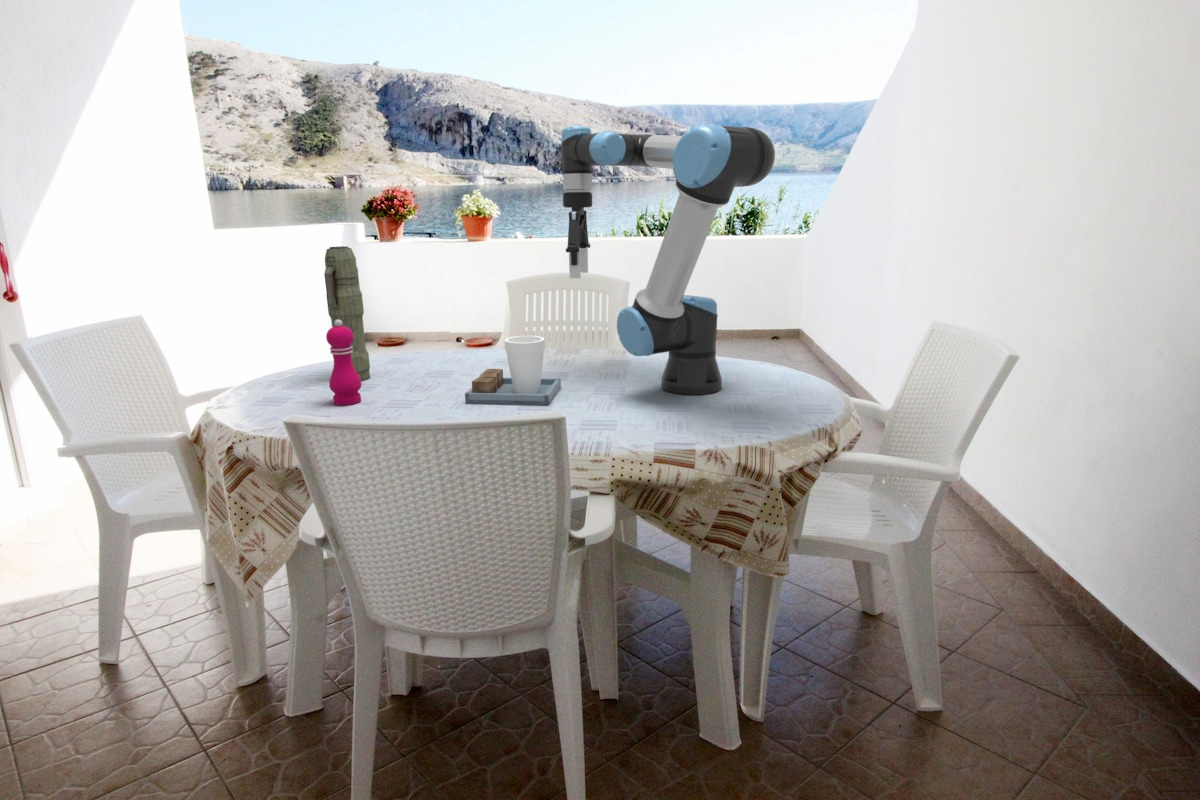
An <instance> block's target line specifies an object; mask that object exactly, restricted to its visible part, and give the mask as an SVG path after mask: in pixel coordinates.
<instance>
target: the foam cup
mask: <svg viewBox="0 0 1200 800" xmlns="http://www.w3.org/2000/svg"><path fill="white" fill-rule="evenodd" d="M545 342H546V341H545V338H544V337H543V336H538V335H517V336H511V337H506V338H505V339H504V347H505V348H504V349H505V350H504V351H505V352H506V357H507V361H508V368H509V373H510V378H511V379H512V385H513V390H514V393H515V394H537V393H539V392H540V385H541V378H542V374H543V373H542V372H543V364H544V351H545V350H546V349H545V348H546V347H545V344H546V343H545Z"/></svg>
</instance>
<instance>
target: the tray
mask: <svg viewBox="0 0 1200 800" xmlns="http://www.w3.org/2000/svg"><path fill="white" fill-rule="evenodd" d="M503 383H504V384H503V385H502V386H501V387H500V388H498V390H497V392H496V393H472V387H471V388H470V389H469V390H468V391H467V392H465V393H464V399H465V404H466V405H467V404H469V405H471V404H472V405H473V404H475V405H508V406H511V405H512V406H513V405H516V406H550V404H551V403H552V402H553V400H554V398H555V397H556V395H557V394H558V392H559V391H560V390H561V387H562V385H561V378H553V377H551V378H548V377H546V378H544V377H541V385H540V392H539V393H537V394H515V393H514V390H513V385H512V379H511V377H503Z"/></svg>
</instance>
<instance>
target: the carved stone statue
mask: <svg viewBox="0 0 1200 800" xmlns="http://www.w3.org/2000/svg"><path fill="white" fill-rule="evenodd" d="M324 264H325V270H324V274H323V275H324V281H325V282H324V283H325V289H326V290H325V291H326V296H325V297H326V302H327V303H326V304H327V313H328V316H329V317H330V320H331V328H332V327H335V324H334V322H335V321H336V320H338V319H339V320H341V321H342V326H345V327H348V328H349V329H350V330H351V331H352V333H353V336H354V339H353V342H352V343H351V346H352V350H353V352H352V353H351V360H352V364H353V367H354V368H355V370H356V372H357V373H358V375H359V377H360V380H361V382H364V381H367V380H369V379H370V378H371V375H370V373H371V372H370V369H371V365H370V364H371V363H370V356H369V352H368V350H367V346H366V339H365V338H366V337H365V330H364V329H365V327H364V320H363V316H364V313H365V312H364V310H365V309H364V301H363V294H362V291H361V288H360V280H359V279H360V278H359V270H358V267H357V258H356V256H355V254H354V251H353V249H352V248H351V247H349V246H343V245H342V246H329V248H327V249H326V250H325V256H324Z"/></svg>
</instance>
